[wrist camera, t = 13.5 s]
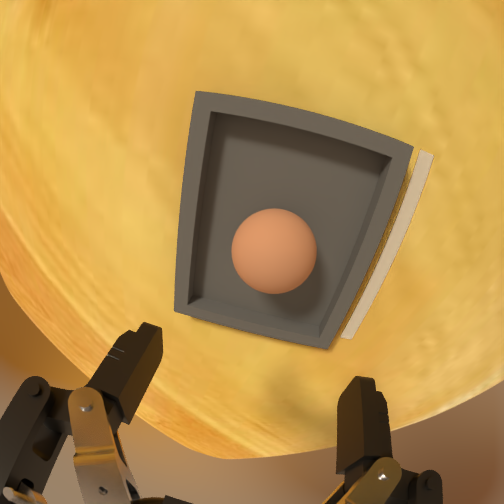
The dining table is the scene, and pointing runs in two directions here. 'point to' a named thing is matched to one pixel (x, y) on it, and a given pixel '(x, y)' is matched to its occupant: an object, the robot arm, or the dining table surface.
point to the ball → (274, 251)
